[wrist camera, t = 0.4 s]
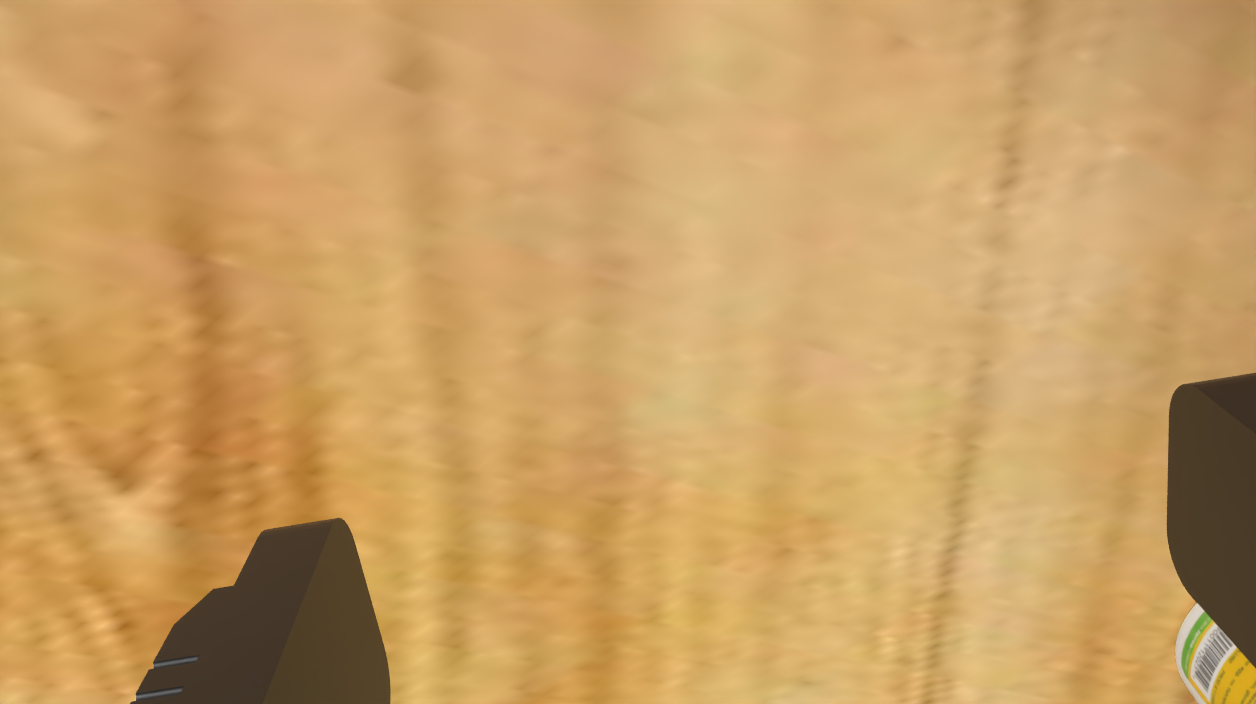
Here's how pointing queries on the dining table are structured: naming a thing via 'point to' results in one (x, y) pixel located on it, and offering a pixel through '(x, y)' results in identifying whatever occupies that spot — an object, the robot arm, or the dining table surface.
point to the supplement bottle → (1212, 663)
